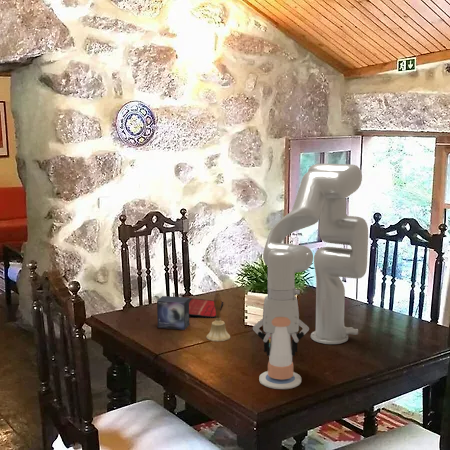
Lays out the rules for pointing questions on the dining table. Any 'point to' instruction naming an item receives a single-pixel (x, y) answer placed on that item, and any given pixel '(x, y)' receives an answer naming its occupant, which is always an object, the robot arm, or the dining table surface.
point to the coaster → (280, 381)
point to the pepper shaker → (280, 350)
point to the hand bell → (218, 323)
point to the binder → (202, 308)
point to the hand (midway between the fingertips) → (280, 353)
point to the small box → (173, 312)
